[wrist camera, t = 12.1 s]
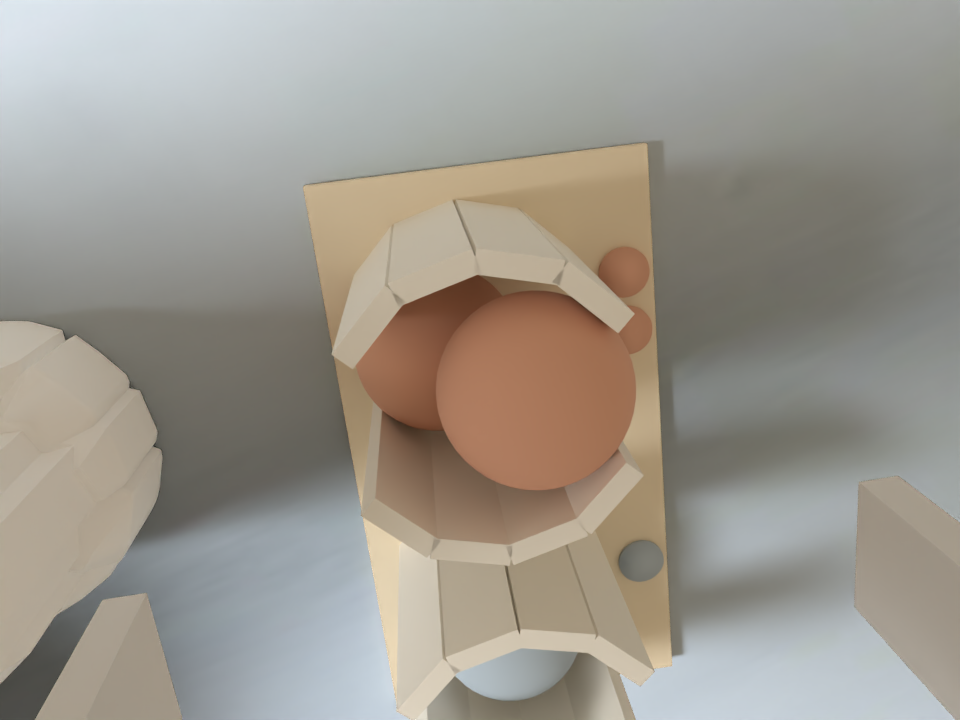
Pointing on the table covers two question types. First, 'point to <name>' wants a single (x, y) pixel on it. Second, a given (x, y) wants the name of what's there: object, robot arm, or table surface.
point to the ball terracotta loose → (535, 390)
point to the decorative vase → (65, 477)
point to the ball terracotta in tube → (419, 351)
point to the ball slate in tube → (518, 674)
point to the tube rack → (466, 492)
